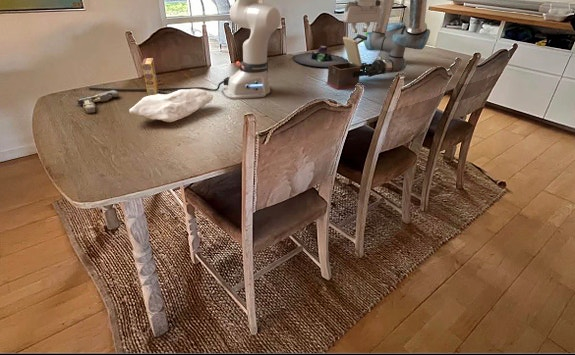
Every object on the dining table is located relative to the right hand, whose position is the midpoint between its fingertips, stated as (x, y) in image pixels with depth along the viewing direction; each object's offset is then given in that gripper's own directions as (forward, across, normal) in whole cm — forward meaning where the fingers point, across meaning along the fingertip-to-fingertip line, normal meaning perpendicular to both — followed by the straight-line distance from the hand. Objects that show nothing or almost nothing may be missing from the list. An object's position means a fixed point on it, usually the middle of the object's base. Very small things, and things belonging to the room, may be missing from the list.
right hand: (347, 71), depth 186 cm
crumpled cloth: (+91, -3, -7) cm, 91 cm away
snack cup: (-65, +58, -7) cm, 87 cm away
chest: (+2, 0, -7) cm, 7 cm away
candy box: (+93, +23, -7) cm, 96 cm away
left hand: (-4, 0, +19) cm, 19 cm away
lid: (-1, 0, +10) cm, 10 cm away
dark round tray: (-12, +44, -7) cm, 46 cm away
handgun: (+115, +20, -7) cm, 117 cm away
